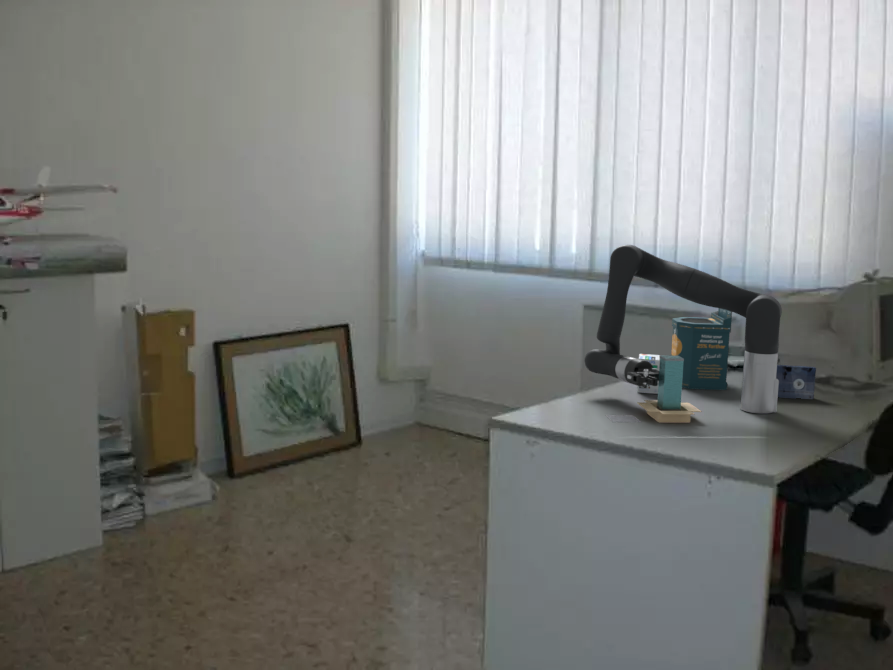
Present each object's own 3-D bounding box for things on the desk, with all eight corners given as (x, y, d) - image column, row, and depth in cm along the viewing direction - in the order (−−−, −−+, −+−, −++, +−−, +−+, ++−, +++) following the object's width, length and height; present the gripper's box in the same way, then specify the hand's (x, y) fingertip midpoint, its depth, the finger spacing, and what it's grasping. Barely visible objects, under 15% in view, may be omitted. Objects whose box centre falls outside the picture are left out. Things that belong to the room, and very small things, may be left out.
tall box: (674, 415, 286) (677, 355, 283) (680, 419, 281) (683, 358, 278) (656, 415, 285) (659, 355, 283) (662, 419, 280) (665, 358, 278)
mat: (633, 416, 285) (633, 415, 285) (641, 423, 277) (641, 422, 277) (605, 416, 284) (605, 415, 284) (612, 423, 276) (612, 421, 276)
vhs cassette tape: (812, 398, 317) (815, 366, 316) (814, 400, 314) (816, 368, 313) (751, 394, 320) (753, 363, 319) (752, 396, 317) (754, 364, 316)
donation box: (726, 390, 326) (732, 302, 322) (676, 388, 326) (681, 301, 322) (714, 380, 342) (720, 296, 337) (665, 378, 342) (671, 295, 338)
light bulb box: (658, 394, 316) (660, 360, 315) (636, 393, 318) (638, 358, 316) (658, 387, 327) (660, 354, 325) (637, 386, 328) (639, 353, 326)
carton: (684, 412, 292) (684, 400, 292) (704, 426, 276) (705, 413, 275) (633, 412, 291) (634, 400, 290) (650, 426, 274) (651, 413, 274)
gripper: (614, 359, 293) (648, 369, 278) (655, 357, 299) (690, 366, 284) (613, 385, 294) (647, 396, 279) (653, 382, 300) (689, 393, 286)
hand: (669, 381), depth 282 cm, fingers open, 8 cm apart
